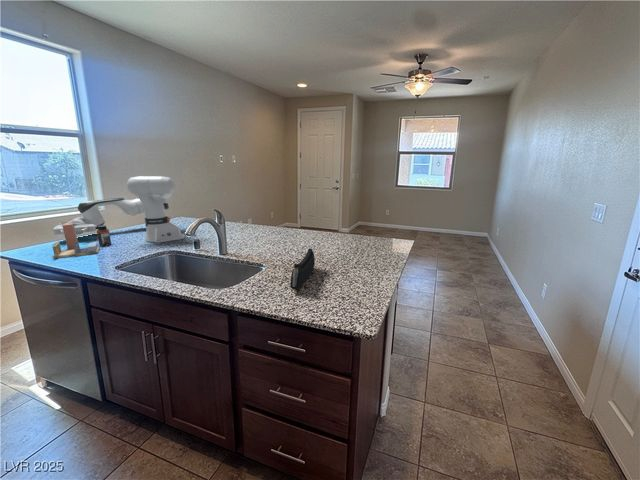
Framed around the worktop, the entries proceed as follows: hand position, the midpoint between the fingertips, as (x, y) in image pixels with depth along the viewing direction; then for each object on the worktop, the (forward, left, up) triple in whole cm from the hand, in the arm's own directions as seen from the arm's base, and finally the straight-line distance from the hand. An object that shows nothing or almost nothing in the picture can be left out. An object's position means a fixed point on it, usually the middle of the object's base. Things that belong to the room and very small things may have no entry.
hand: (73, 231), depth 181 cm
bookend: (-6, +23, -6) cm, 25 cm away
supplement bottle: (-15, +9, -8) cm, 19 cm away
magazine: (-95, +111, -8) cm, 146 cm away
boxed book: (0, +10, -7) cm, 12 cm away
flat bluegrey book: (-11, +22, -6) cm, 26 cm away
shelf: (-4, +22, -7) cm, 24 cm away
